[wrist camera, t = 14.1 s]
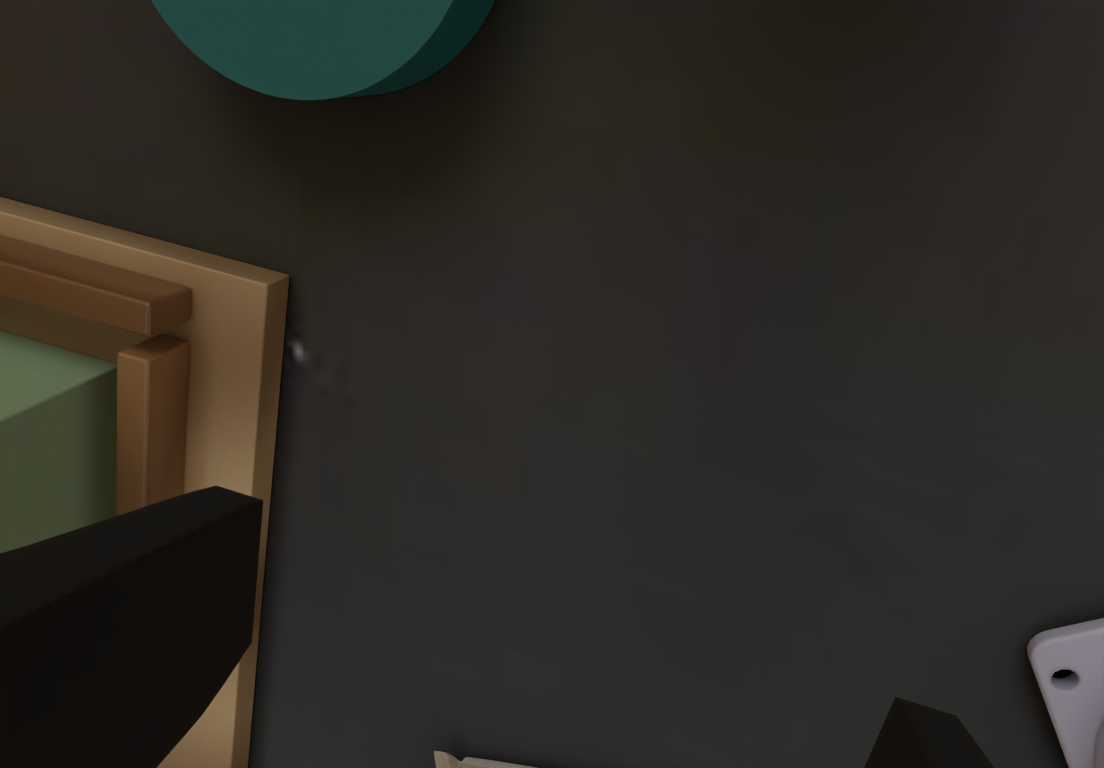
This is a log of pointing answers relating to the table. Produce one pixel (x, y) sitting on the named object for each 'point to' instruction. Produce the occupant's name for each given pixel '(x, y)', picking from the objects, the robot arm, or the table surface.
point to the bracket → (325, 41)
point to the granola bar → (470, 762)
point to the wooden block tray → (164, 384)
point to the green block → (54, 441)
